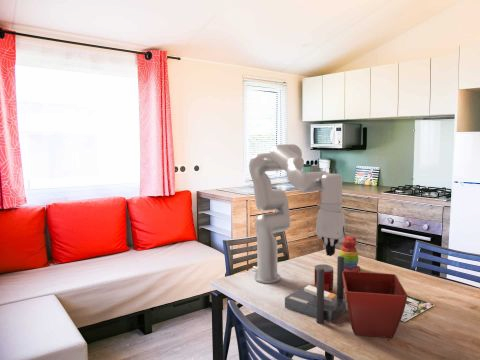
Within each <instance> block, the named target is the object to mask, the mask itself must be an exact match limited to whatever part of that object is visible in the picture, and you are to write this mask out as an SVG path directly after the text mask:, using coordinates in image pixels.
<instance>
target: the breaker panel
mask: <svg viewBox="0 0 480 360" xmlns="http://www.w3.org/2000/svg"><path fill="white" fill-rule="evenodd" d="M304 288H305V287H300V288H298V289H296V290H295V291H293V292H292V293H290V294H289V295H287V296H286V297H284V309H288V310H291V311H295V312H297V313H300V314H303V315H306V316H309V317H313V318H315V319H316V311H317V296H316V295H313V294H311V293H308V292H305V291H304ZM345 311H347V302H346V299H341V298H336V299H335V300H334V301H332V302H331V301H328V300H326V299H324V322H327V323H331V324H332V323H333V322H335V320H337V319H339V317H340V316H342V314H344V312H345Z"/></svg>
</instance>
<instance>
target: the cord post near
mask: <svg viewBox="0 0 480 360" xmlns="http://www.w3.org/2000/svg"><path fill="white" fill-rule="evenodd" d="M315 319H316V320H315V321H316V324H318V325H323V324H324V322H325V321H324V269H323V268H318V269H317V311H316V318H315Z"/></svg>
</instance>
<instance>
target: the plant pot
mask: <svg viewBox="0 0 480 360" xmlns="http://www.w3.org/2000/svg"><path fill="white" fill-rule="evenodd" d="M342 277H343V285H344V297H345V300H346V307H347V311H348V317H349V322H350V327H351V329H352V332H353V335H356V336H366V337H367V336H368V337H376V338H387V339H392V338H393V337H394V336H395V334H396V332H397V330H398V328H399V325H400V323H401V320H402V317H403V315H404V313H405V308H406V304H407V299H408V294H407V292H406V291H405V288H404V286H403V285H402V284H401V282H400V280H399V278H398V275H396V274H394V273H380V272H368V271H367V272H365V271H359V272H352V271H343V272H342Z"/></svg>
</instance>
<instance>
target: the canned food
mask: <svg viewBox="0 0 480 360" xmlns="http://www.w3.org/2000/svg"><path fill="white" fill-rule="evenodd" d="M318 268H323V269H324V291H327V292H329V293H334V267H333V266H332V265H330V264H322V263H321V264H320V263H319V264H316V265H315V266H314V285H313V286H314V287H316V288H317V269H318Z"/></svg>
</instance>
